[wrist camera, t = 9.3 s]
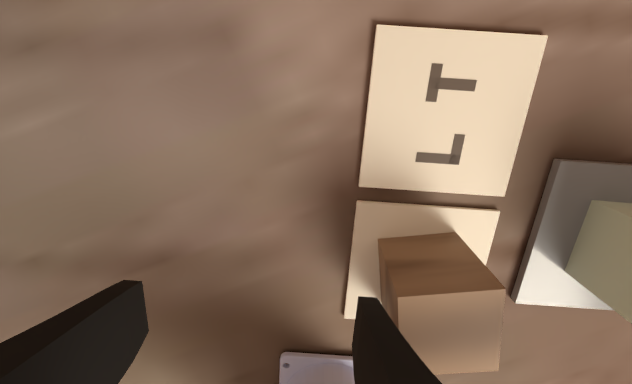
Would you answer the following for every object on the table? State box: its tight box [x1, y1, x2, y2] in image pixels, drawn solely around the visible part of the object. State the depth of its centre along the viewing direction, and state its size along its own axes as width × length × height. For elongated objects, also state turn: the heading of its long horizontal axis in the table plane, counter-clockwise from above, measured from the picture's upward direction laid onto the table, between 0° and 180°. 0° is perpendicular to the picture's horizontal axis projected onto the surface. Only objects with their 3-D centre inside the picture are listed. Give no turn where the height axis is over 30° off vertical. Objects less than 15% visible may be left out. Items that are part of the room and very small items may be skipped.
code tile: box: [358, 25, 548, 197], centre depth 18 cm, size 9×9×1 cm
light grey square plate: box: [511, 159, 632, 310], centre depth 20 cm, size 10×10×1 cm
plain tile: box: [344, 200, 500, 319], centre depth 22 cm, size 9×9×1 cm
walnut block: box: [378, 232, 506, 375], centre depth 19 cm, size 5×5×6 cm
